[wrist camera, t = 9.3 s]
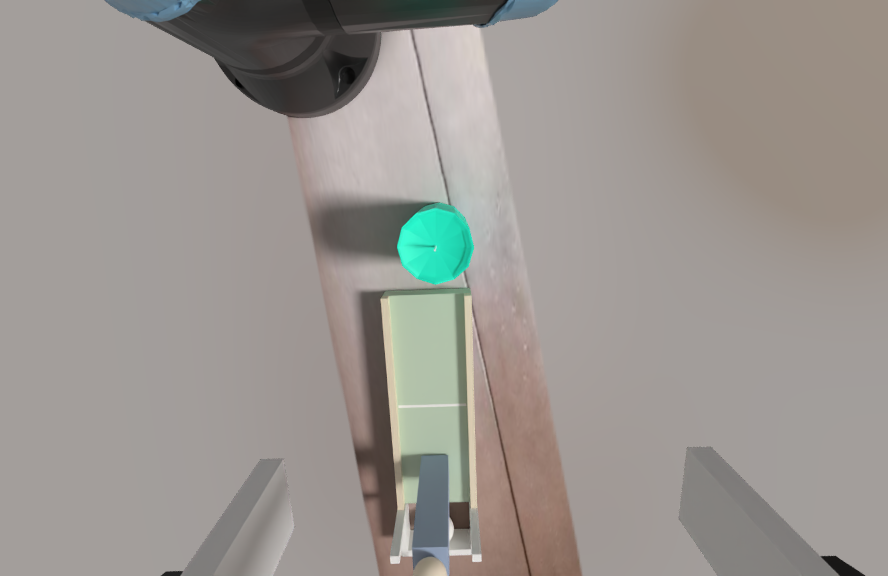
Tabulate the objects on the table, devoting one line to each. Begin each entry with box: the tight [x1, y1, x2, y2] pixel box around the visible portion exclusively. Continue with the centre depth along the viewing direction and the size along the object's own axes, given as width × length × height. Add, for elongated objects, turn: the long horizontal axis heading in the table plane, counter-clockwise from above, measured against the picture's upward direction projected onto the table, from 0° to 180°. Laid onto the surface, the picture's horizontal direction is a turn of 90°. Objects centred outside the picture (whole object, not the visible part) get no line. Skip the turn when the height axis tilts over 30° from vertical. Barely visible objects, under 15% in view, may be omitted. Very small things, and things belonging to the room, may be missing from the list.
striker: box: [412, 455, 449, 576], centre depth 39 cm, size 3×3×15 cm
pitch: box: [381, 288, 477, 510], centre depth 45 cm, size 25×9×3 cm, turn 2°
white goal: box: [390, 502, 482, 564], centre depth 46 cm, size 6×9×9 cm
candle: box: [397, 202, 474, 285], centre depth 36 cm, size 6×6×12 cm
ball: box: [449, 517, 454, 541], centre depth 49 cm, size 4×4×4 cm
